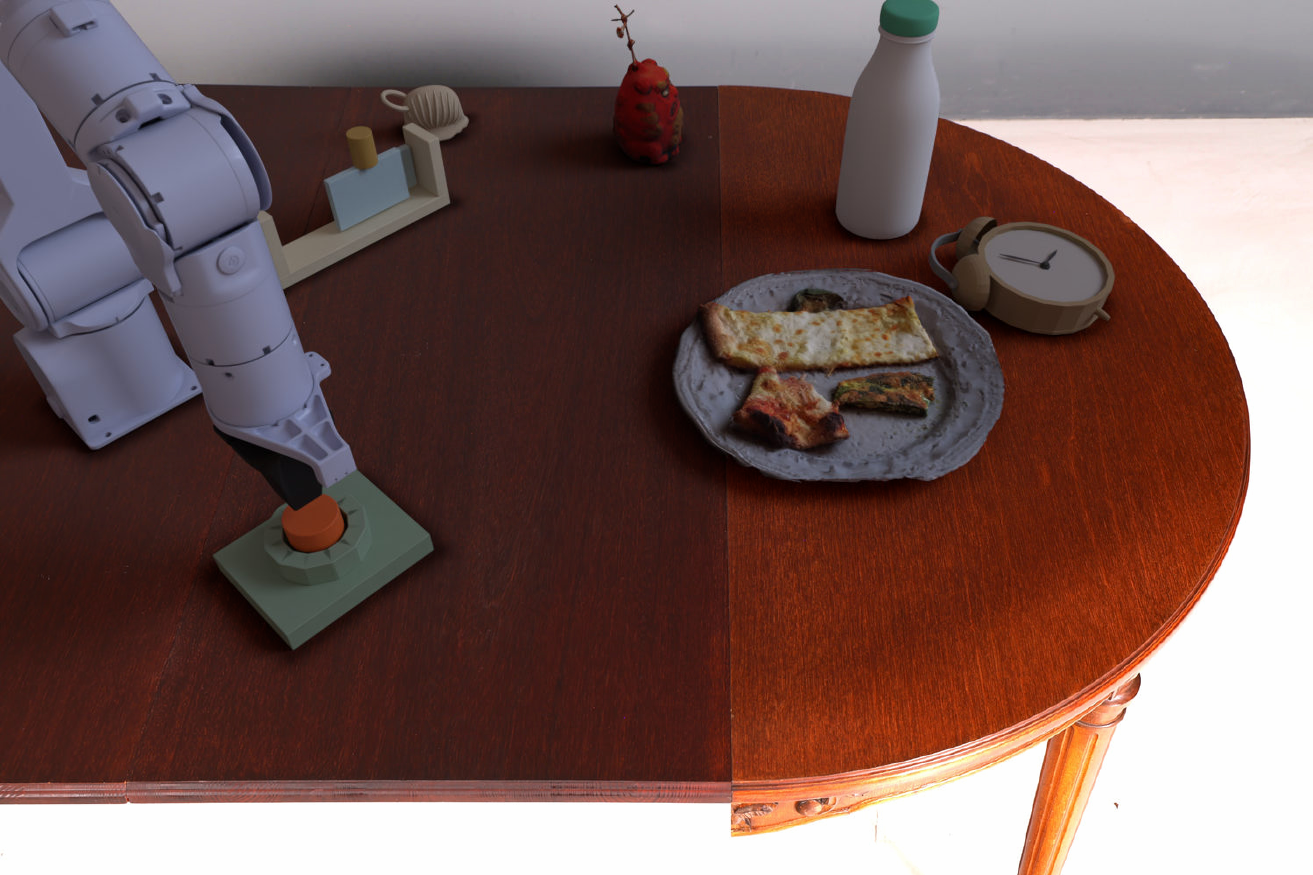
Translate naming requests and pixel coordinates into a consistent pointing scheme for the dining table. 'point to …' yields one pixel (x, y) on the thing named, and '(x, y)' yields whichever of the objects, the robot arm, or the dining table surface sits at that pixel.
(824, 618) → the dining table surface
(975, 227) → the alarm clock
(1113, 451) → the dining table surface
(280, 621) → the button block
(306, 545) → the button
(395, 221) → the window frame
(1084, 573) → the dining table surface
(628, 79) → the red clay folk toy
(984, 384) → the food plate
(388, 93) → the decorative ornament
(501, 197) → the dining table surface
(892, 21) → the milk bottle
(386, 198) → the blue panel with knob
